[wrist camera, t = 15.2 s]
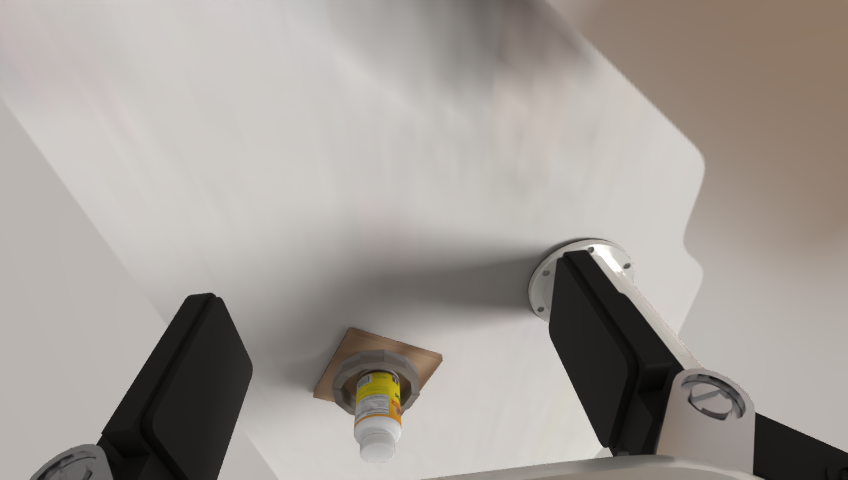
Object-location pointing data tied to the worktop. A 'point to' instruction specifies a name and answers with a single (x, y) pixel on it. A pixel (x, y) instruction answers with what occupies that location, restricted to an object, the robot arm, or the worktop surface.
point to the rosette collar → (372, 353)
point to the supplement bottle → (377, 414)
